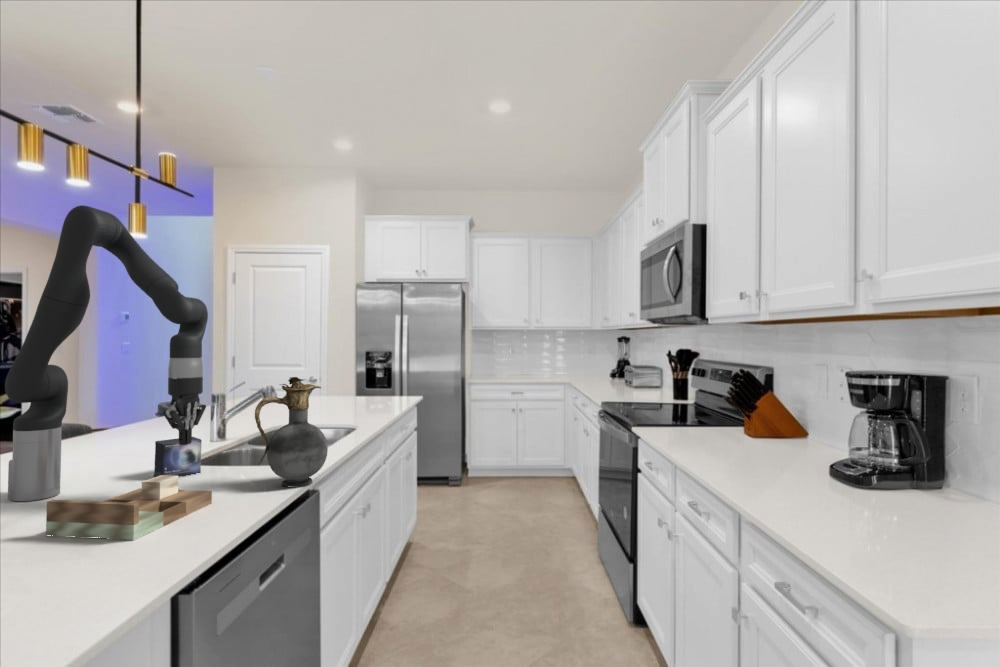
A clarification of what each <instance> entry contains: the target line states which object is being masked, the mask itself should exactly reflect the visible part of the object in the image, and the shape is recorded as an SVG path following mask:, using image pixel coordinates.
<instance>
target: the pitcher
mask: <svg viewBox="0 0 1000 667" xmlns="http://www.w3.org/2000/svg"><path fill="white" fill-rule="evenodd" d="M303 381H305V380H304V379H303V378H302V379H301V378H300V377H298V376H292V377H289V379H288V382H289V385H290V386H289V385H288V384H286V383H282V384H281V383H280V384H279V386H281V388H282V390H283V391H285V395H284V396H283V397H282V398H281V397H274V396H268V397H264V398H262V399H261V400H260V401H259V402H258V403H257V405H256V407H255V409H254V419H255V424H256V426H257V427H256V428H257V429H258V431H259V433H260V435H261V436H262V439H263V441H264V444H265V449H264V453H263V455H262V457H261V458H260V460H259V462H258V464H257V465H258V467H259V466H260V464H261V463H262V462H263V460H264V458H265V457H266V459H267V463H268V465H269V468H270V469H271V471H272V472H273V473H274V474H275V475H277V476H278V477H279V478H281V479H284V480H283V481H281V485H282V486H283V485H284V486H302V487H306V486H309V485H311V484H312V483H313V479H312V478H311V477H312V476H314V475H315V474H317V473H318V472H319V471H320V470H321V469H322V468H323V466H324V464H325V463H326V460H327V457H328V450H329V448H328V443H327V442H328V441H327V439H326V436H325V434H324V433H323V431H322V430H321V429H320V428H319V427H317V426H316V425H314V424H312V423H309V420H308V418H309V413H308V412H309V410H308V409H310V403H309V401H310V400H309V398H310V395H311V394H312V392H313V390H315V389H322V386H320V385H315V384H309V383H308V384H307V383H306V384H305V383H303ZM273 403H274V404H275V403H276V404H279V405H284V406H286V407H287V409H288V423H287V424H286V425H284V426H282V427H280V428H278V429H277V430H276V431H275V432H274V433H273V434H272V436H271V437H270V439H269V441H268V438H267V435H266V433H265V431H264V430H263V428H262V424H261V420H260V412H261V411H262V408H263V407H264V406H265V405H268V404H273ZM284 486H283V487H284Z"/></svg>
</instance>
